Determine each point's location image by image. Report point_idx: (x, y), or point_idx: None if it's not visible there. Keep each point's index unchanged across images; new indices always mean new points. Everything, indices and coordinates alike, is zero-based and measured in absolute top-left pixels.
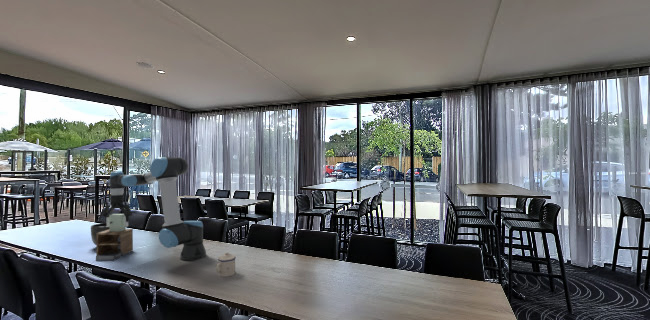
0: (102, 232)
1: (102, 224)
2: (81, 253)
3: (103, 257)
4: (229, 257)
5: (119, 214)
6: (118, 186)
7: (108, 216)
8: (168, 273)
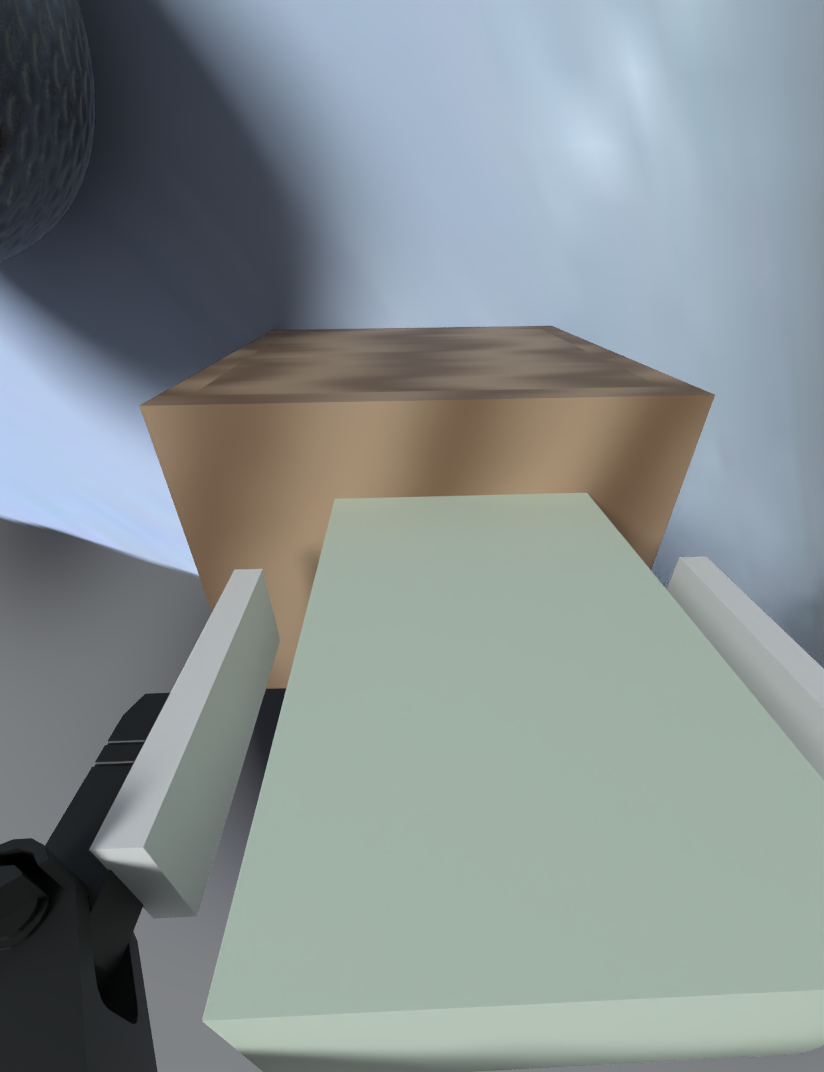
0: (286, 651)
1: None
2: (46, 432)
3: None
4: None
5: (687, 1038)
6: None
7: (104, 910)
8: None
